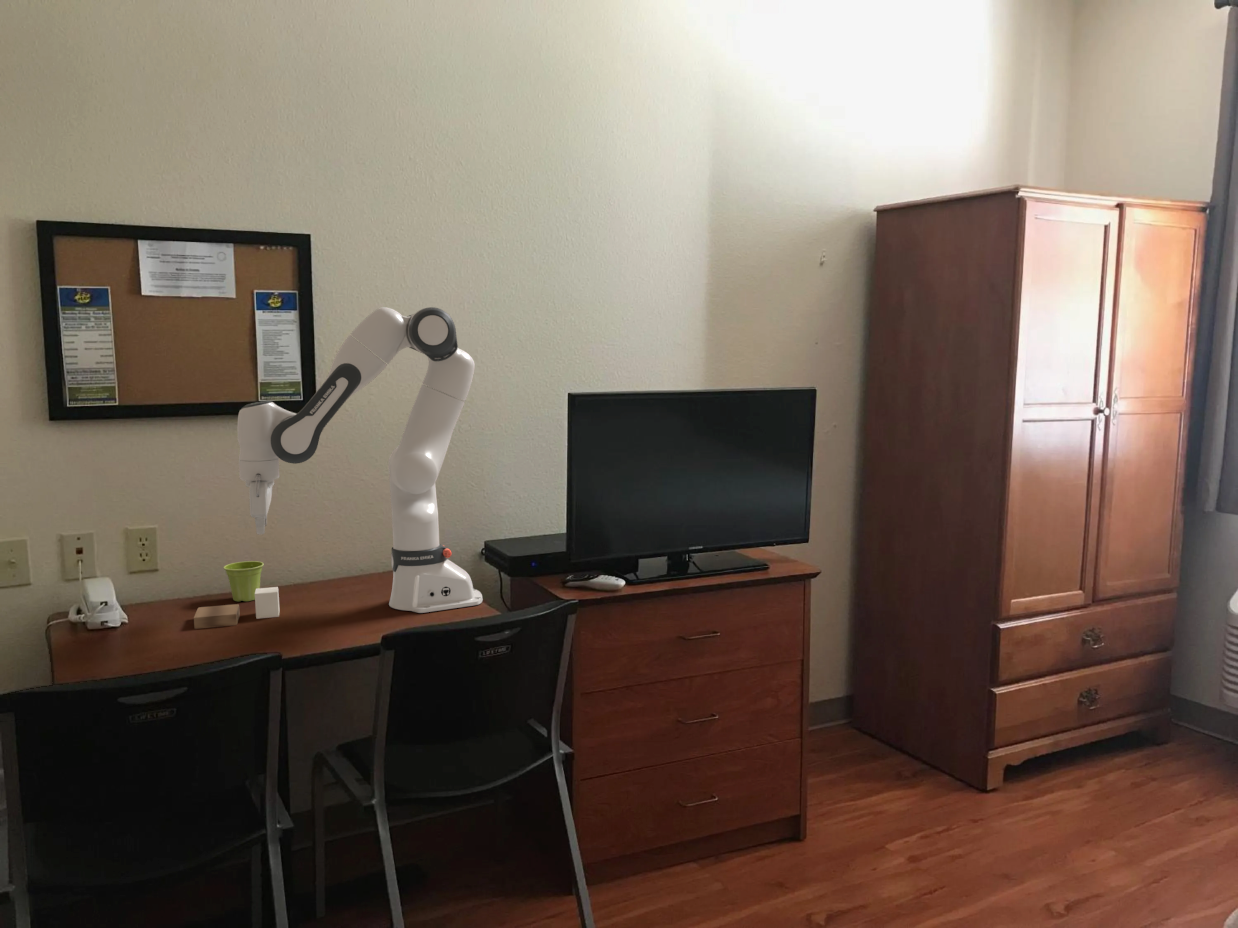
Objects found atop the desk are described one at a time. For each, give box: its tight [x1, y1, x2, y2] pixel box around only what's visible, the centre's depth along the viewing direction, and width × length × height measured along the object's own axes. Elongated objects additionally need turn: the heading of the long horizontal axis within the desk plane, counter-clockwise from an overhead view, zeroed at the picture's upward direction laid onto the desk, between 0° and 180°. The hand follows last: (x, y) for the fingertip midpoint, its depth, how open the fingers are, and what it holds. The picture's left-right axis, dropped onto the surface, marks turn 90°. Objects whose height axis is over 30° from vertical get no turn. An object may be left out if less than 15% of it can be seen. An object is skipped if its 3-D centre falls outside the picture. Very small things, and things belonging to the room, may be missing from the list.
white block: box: [254, 586, 280, 619], centre depth 240 cm, size 5×5×6 cm
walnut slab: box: [193, 603, 240, 630], centre depth 235 cm, size 9×9×3 cm
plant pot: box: [223, 560, 265, 603], centre depth 254 cm, size 9×9×9 cm
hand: (261, 530), depth 238 cm, fingers open, 8 cm apart
